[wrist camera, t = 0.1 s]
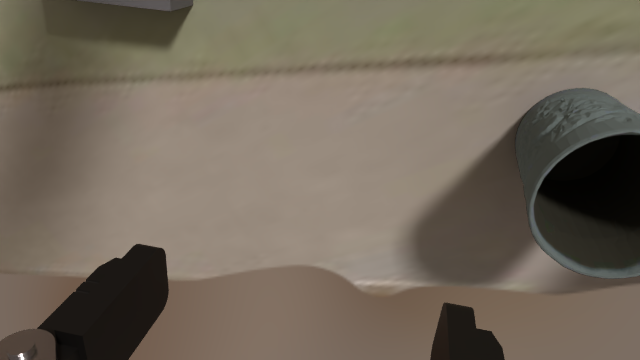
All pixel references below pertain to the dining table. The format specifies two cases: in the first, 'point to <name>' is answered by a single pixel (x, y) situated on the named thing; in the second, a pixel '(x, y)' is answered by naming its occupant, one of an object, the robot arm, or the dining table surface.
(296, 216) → the dining table surface
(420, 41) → the dining table surface
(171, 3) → the slate base
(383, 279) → the dining table surface
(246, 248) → the dining table surface
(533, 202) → the blue gray cup
